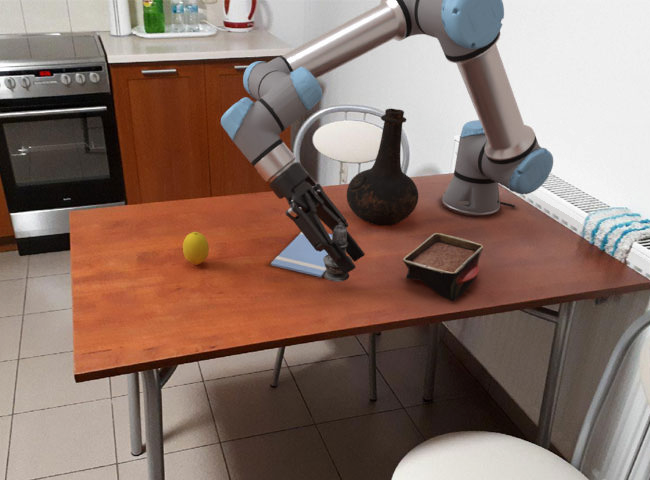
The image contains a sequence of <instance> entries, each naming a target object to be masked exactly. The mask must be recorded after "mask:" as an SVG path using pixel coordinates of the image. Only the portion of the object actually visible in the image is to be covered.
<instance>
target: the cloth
mask: <svg viewBox="0 0 650 480" xmlns="http://www.w3.org/2000/svg"><path fill="white" fill-rule="evenodd" d="M332 234H333V233H332ZM332 234H331V233H328V235H329V236H330V238H331V240H332ZM317 244H318V243H317ZM326 255H328V253H327V252H326V251H325V250H323V251H321V252H319V251H316V250H315V249H314V247H313V246H312V245H311V243H310V242H309V241H308V239H307V238H306V237H305V236H304V234H303V233H302V232H301V231H300V233H299V234H298V235H297V236H296V237H295V238H294V239H293V240H292V241H291V242H290V243H289V244H288V245H287V246H286V247H285V248H284V249H283V250H282V251H281V252H280V253H279V254H278V255H277V256H276V257H275V258H274V259H273V260H272V261H271V262H270V266H272V267H276V268H281V269H284V270H289V271H292V272H293V271H294V272H298V273H300V274H301V273H302V274H304V275H305V274H306V275H310V276H313V277H317V278H323V277H324V272H325V271H326V270H327V269H326V267H325V263H324V261H323V258H324V257H325V256H326Z"/></svg>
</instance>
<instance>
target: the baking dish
mask: <svg viewBox="0 0 650 480" xmlns="http://www.w3.org/2000/svg"><path fill="white" fill-rule="evenodd" d="M483 250H484V245H483V244H481V243H478V242H475V241H472V240H469V239H465V238H463V237H458V236H454V235H449V234H446V233H440V232H434V233H432V234H431V235H430V236H428V237H427V238H425V240H423V241H422V242H421V243H420V244H419V245H418V246H417V247H416V248H414V249H413V250H412V251H410V252H409V253H408V254H406V255H405V256H404V257H403V258H402V262H403V263H404V264H405V265H406V267H407V273H406V276H405V279H406V280H419V281H420V282H422V283H423V284H424V285H425V286H427V287H428V288H430V290H432V291H433V292H435V293H436V294H437V295H439V296H440V297H442V298H444V299H447V300H449V301H451V302H455V301H456V300H458V299H459V298H460V297H461V296H462V295H463V294H465V292H466V291H467V290H468V289H469V288H470V286H471V285H472V284H473V283H474V282H475V280H477V277H478V274H479V271H480V267H479V261H480V257H481V255H482V253H483Z"/></svg>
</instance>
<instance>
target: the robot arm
mask: <svg viewBox="0 0 650 480" xmlns="http://www.w3.org/2000/svg"><path fill="white" fill-rule="evenodd" d="M504 18H505V7H504V3H503V0H380V1H379V4H378V5H376V6H374V7H372V8H371V9H369V10H366V11H365V12H363V13H360V14H359V15H357V16H355V17H353V18H351V19H350V20H347V21H346V22H344V23H342V24H340V25H337V26H336V27H334V28H332V29H330V30H328V31H326V32H324V33H322V34H320V35H318V36H316V37H315V38H313V39H311V40H308V41H307V42H305V43H303V44H301V45H300V46H297V47H295V48H293V49H292V50H289V51H288V52H285V53H284V54H282V55H279V56H278V57H275V58H273V59H272V60H269V61H268V62H267V61H263V60H259V61H254V62H252V63H250V64H249V65H248V66H247V67H246V69H245V70H244V73H243V76H242V78H243V79H242V83H243V88H244V89H245V91H246V92H247V94H249V95H250V96H251V98H252V99H253V100H255V101H253V100H252V99H250V97H247V96H246V97H245V96H244V97H242V98H241V99H240V100H238V101H237V102H235V103H234V104H232V105H231V107H229V108H228V109H227V110H226V111H225V112H224V113H223V115H222V116H221V118H220V125H221V126H222V128H223V129H224V131H225V132H226V133H227V135H228V136H229V138H230V139H231V141H232V142H233V143H234V144H235V146H236V147H237V148H238V149H239V151H240V152H241V153H242V154H243V156H244V157H245V158H246V159H247V160H248V162H249V163H250V164H251V166H253V167H254V169H255V170H256V171H257V173H258V174H259V176H261V178H262V179H263V180H264V181H265V182H267V183H268V182H269V188H270V190H271V191H272V192H273V193H274V194H275V196H276V197H277V198H278V199H279V200H281V199H284V198H285V199H286V201H287V205H289V208H288V209H286V210H285V215H286V216H287V217H288V218H289V219H290V220H291V221H292V222H293V223H294V224H295V226H296V227H297V228H298V229H299V231H300V233H301V232H302V233H303V234H304V236H305V237H306V238H307V239H308V241H309V242H310V243H311V245H312V246H313V247H314V249H315V250H316V251H319V252H321V251H323V250H325V251H326V252H327V253H328V255H329V256H330V257H331V258H332V260H333V261H334V262H335V263H336V264H337V266H338V267H339V268H340V269H341V271H342V272H343V273H344V275H345V274H347V273H350V272H352V271H353V270H355V269H356V265H355V264H354V263H355V262H356V261H358V260H359V259H361V258H363V257H364V256H365V255H366V253H365V252H364V251H363V249H362V248H361V247H360V245H359V244H358V243H357V241H356V240H355V239H354V238H353V236H352V235H351V234H350V233H349V231H347V240H346V241H347V242H348V245H347V246H346V254H345V252H344V251H343V250H342V248H341V247H340V246H339V245H338V243H337V242H336V241H335V242H332V240H331V238H330V236H329V235H328V234H329V233H328V231H327V230H326V228H325V226H327V228H329V230H331V231H332V232H333V228H334V227H335V226H337V225H339V223H340V222H341V223H342V226H345V227H346V228H347V229H348V227H349V226H350V225H349V223H348V220H347V219H346V217H345V216H344V215H343V214H342V212H341V211H340V210H339V208H338V207H337V206H336V205H335V203H334V202H333V201H332V200H331V199H330V197H329V196H328V195H327V194H326V193H325V191H324V189H323V187H322V185H321V184H320V183H316V184H315V185H313V186H312V184H310V183H309V182H308V181H307V179H308V178H309V176H310V175H309V174H310V173H308V171H307V170H306V168H304V166H303V165H302V163H301V162H299V161H295V160H297V159H296V158H297V156H295V154H293V153H294V152H292V151H291V150H290V148H289V147H288V146H287V145H286V143H285V142H284V140H283V139H281V137H280V134H282V133H283V132H284V131H285V130H286V129H288V128H289V127H290V126H291V125H293V124H294V123H296V122H297V121H298V120H299V119H300V118H302V117H303V116H304V115H306V114H307V113H308V112H310V111H311V110H312V109H313V108H314V107H315V106H316V105H317V104H319V102H320V101H321V100H322V98H323V90H322V87H321V85H320V83H319V82H318V79H319V78H321V77H324V76H325V75H327V74H329V73H331V72H333V71H335V70H337V69H338V68H340V67H343V66H344V65H346V64H348V63H350V62H352V61H354V60H356V59H358V58H360V57H362V56H363V55H366V54H368V53H369V52H371V51H373V50H376V49H377V48H379V47H381V46H383V45H385V44H387V43H389V42H391V41H392V40H394V41H398V42H401V41H403V40H405V39H407V38H409V37H412V36H417V35H425V36H429V37H432V38H435V39H436V40H438V42H439V45H440V48H441V49H442V52H443V54H444V57H445V58H446V60H447V62H450V63H453V64H456V66H457V68H458V71H459V73H460V76H461V79H462V81H463V83H464V86H465V88H466V91H467V94H468V95H469V99H470V101H471V103H472V106H473V108H474V110H475V113H476V115H477V117H478V119H477V120H476V119H475V120H469V121H467V122H466V123H464V125H463V126H462V129H461V133H460V136H459V141H458V147H457V153H456V160H455V164H454V171H453V176H452V178H451V180H450V181H449V184H448V186H447V187H446V190H445V191H444V193H443V195H442V199H441V205H442V206H443V207H444V208H445V209H446V210H448V211H450V212H452V213H454V214H456V215H459V216H464V217H470V218H471V217H473V218H488V217H492V216H495V215H497V214H498V213H499V211H500V207H501V206H506V207H509V208H513V209H514V208H515V204H513V203H508V202H504V201H501V199H500V188H499V185H501V186H503V187H505V188H507V189H509V191H510V192H515V193H517V194H519V195H528V194H531V193H533V192H536V191H537V190H538V189H540V188H541V186H543V185H544V184H545V182H546V181H547V179H548V178H549V175H550V174H551V172H552V169H553V166H554V156H553V154H552V153H551V151H550V150H549V149H547V148H546V147H542V146H540V144H539V142H538V139H537V136H536V133H535V131H534V129H533V128H532V126H529V125H527V124H525V123H524V120H523V117H522V114H521V112H520V109H519V106H518V103H517V100H516V97H515V95H514V91H513V88H512V86H511V83H510V80H509V78H508V77H509V76H508V73H507V71H506V69H505V66H504V62H503V60H502V57H501V55H500V52H499V49H498V45H497V43H498V42H499V40H500V38H501V29H502V26H503V23H502V21H503V19H504ZM512 204H513V205H512ZM317 243H318V244H317ZM348 256H349V257H350V258H351V259H352V261H351V260H350V259H349V257H348ZM353 262H354V263H353Z"/></svg>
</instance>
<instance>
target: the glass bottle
mask: <svg viewBox="0 0 650 480" xmlns="http://www.w3.org/2000/svg"><path fill="white" fill-rule="evenodd" d="M404 115H405V111H404V109H403V110H402V109H398V108H387V109H385V110H384V114H383V115H381V116H380V120H382V121H383V126H382V133H381V138H380V143H379V147H378V151H377V154H376V157H375V160H374V163H373V165H372V166H371V168H369V169H365V170H362V171H360V172H359V173H357V174H356V175H355V176H353V178H351V180H350V181H349V183H348V184H347V185H348V186H347V189H346V201H347V204H348V206H349V208H350V210H351V212H353V214H354V215H355V216H356V217H357V218H359V219H360V220H361V221H364V222H365V223H368V224H370V225H373V226H379V227H388V226H394V225H397V224H400V223H402V222H403V221H404V220H406V219H407V218H408V217H410V216H411V215H412V213H414V211H415V209H416V207H417V205H418V201H419V190H418V187H417V185H416V184H415V182H414V180H413V179H412V178H411V177H410V176H408V175H407V174H406V173H404V172H403V170H402V164H401V162H402V161H401V150H402V149H401V147H402V132H403V123H406V122H407V118H406V117H405V116H404Z"/></svg>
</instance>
